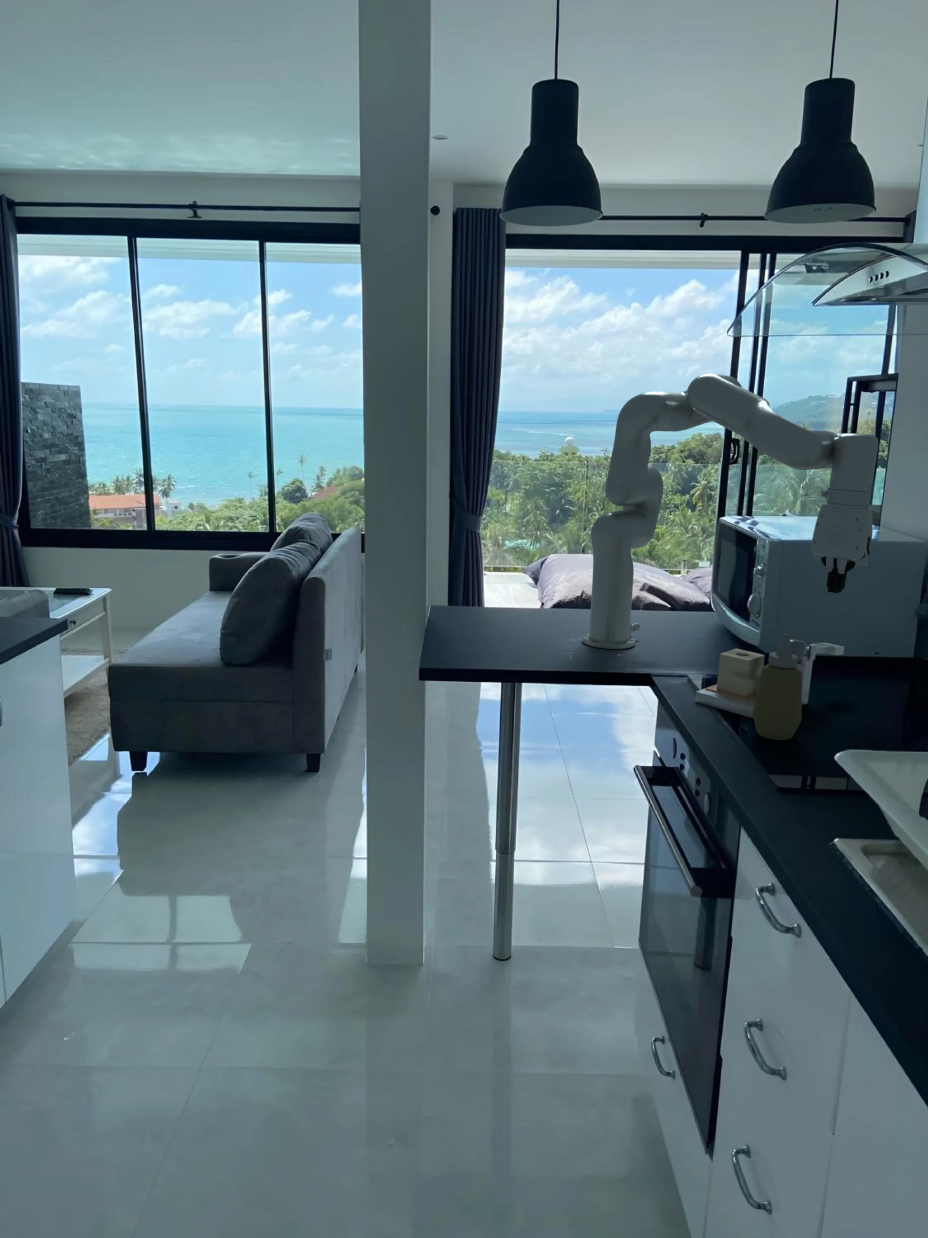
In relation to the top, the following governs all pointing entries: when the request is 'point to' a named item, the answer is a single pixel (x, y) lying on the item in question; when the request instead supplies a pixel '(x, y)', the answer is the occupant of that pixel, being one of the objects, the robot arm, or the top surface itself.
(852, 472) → the robot arm
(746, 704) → the press
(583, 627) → the top surface
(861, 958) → the top surface
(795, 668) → the squeeze bottle
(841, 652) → the press lever
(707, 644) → the top surface
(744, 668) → the maple block
